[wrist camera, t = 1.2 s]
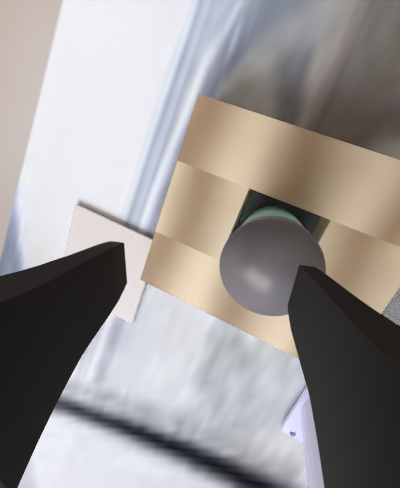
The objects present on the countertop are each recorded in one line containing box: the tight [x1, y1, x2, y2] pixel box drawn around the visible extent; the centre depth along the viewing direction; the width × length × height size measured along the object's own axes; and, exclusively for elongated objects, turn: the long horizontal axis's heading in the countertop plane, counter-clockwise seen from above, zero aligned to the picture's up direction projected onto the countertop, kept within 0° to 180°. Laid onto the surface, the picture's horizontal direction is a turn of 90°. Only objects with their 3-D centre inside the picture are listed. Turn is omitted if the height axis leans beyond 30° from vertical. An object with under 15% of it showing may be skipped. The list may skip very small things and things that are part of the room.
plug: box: [219, 206, 326, 316], centre depth 15 cm, size 4×4×9 cm
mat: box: [65, 204, 153, 324], centre depth 24 cm, size 9×9×1 cm
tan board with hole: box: [140, 94, 400, 359], centre depth 18 cm, size 16×14×3 cm
